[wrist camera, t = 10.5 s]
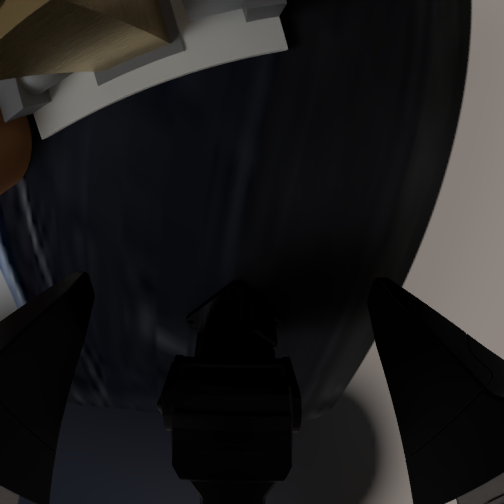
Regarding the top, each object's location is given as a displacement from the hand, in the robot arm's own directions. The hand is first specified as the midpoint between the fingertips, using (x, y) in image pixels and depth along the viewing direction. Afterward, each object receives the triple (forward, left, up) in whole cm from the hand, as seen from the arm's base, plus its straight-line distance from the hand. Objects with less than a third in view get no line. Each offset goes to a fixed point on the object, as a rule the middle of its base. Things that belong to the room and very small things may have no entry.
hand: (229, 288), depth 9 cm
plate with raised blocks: (+2, +12, -13) cm, 18 cm away
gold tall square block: (+2, +12, -12) cm, 17 cm away
